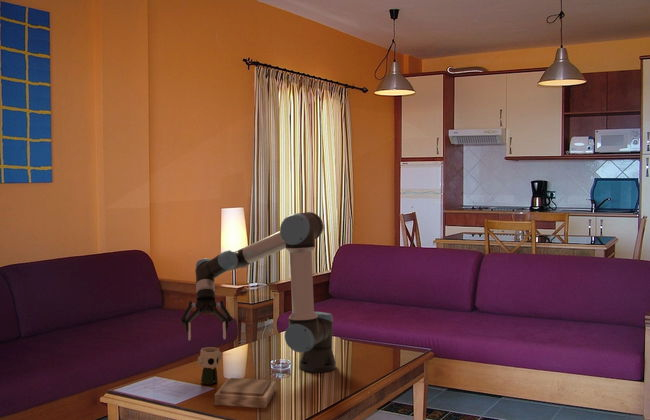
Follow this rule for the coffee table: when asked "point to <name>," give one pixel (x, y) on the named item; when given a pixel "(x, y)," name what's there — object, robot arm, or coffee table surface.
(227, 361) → the coffee table surface
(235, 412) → the coffee table surface
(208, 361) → the character mug
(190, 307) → the robot arm
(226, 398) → the birch plinth
